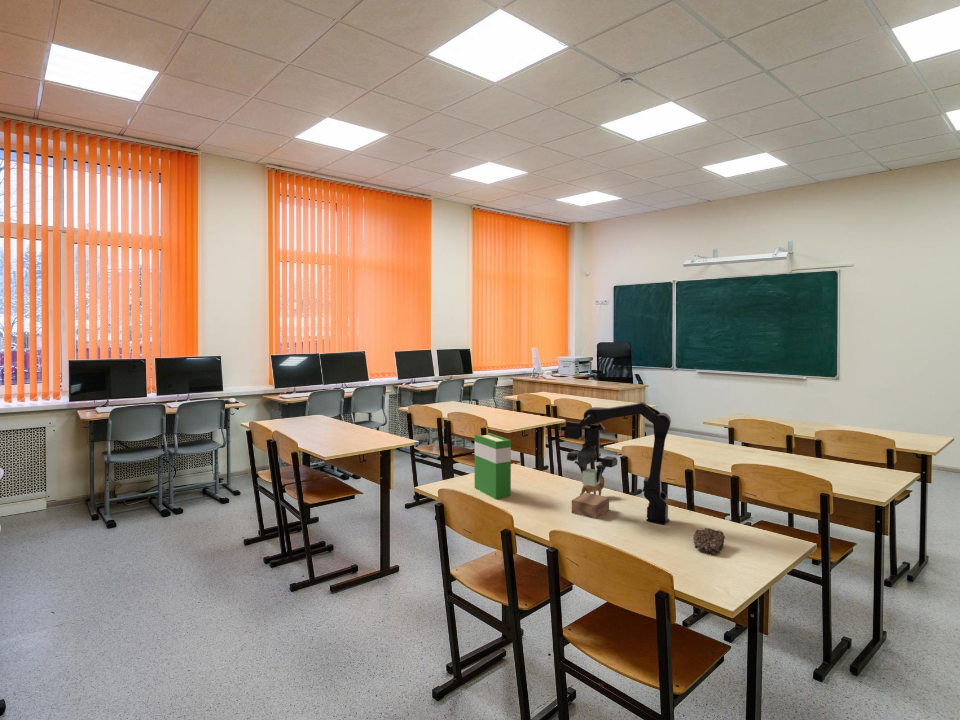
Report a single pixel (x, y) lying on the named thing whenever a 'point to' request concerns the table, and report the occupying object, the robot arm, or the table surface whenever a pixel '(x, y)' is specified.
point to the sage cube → (590, 477)
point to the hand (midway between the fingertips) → (591, 480)
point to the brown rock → (709, 541)
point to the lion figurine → (593, 487)
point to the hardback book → (493, 465)
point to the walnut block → (590, 505)
